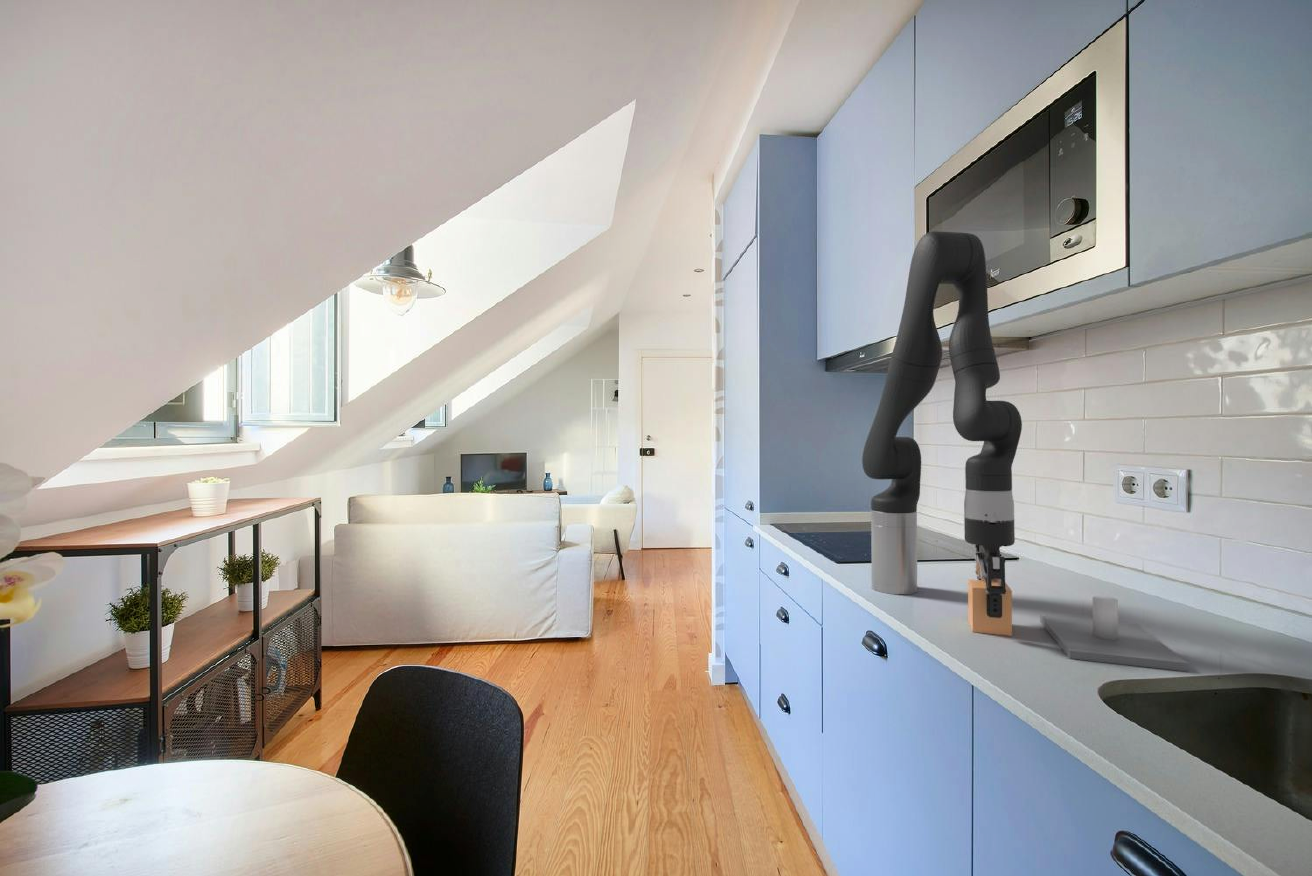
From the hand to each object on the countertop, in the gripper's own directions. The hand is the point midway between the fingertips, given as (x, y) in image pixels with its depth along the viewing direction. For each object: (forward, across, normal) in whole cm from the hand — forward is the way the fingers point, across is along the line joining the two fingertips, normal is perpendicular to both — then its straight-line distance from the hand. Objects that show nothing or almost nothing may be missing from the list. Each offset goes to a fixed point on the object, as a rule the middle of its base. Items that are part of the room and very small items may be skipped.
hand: (990, 609), depth 101 cm
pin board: (+4, +2, +16) cm, 16 cm away
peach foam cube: (+3, 0, 0) cm, 3 cm away
